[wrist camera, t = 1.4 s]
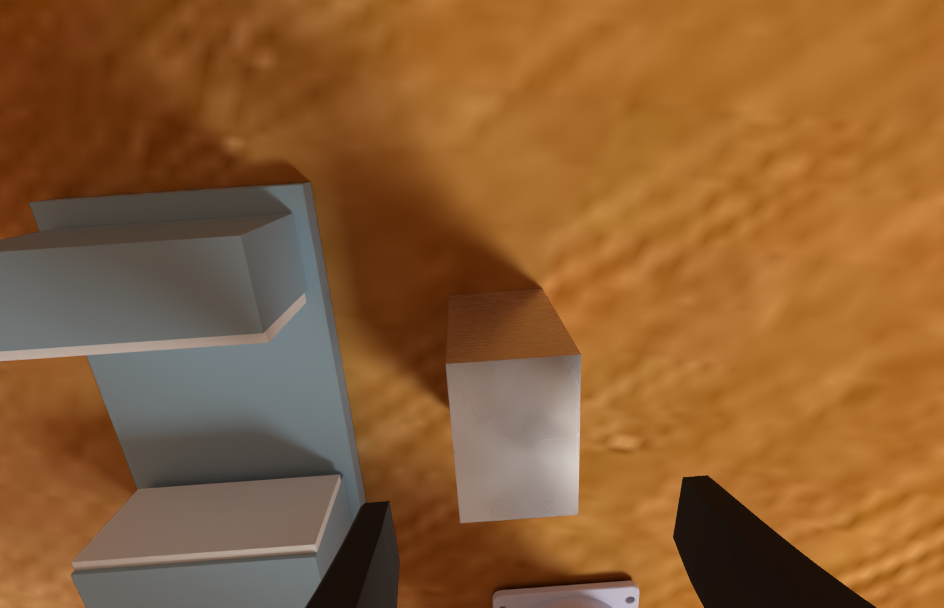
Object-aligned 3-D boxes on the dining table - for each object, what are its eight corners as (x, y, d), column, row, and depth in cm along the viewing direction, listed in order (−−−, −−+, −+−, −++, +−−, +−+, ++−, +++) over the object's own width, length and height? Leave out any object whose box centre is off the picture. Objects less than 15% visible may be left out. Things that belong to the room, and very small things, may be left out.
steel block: (543, 409, 22) (578, 514, 16) (459, 415, 22) (460, 523, 15) (542, 288, 20) (581, 354, 14) (449, 294, 20) (445, 363, 13)
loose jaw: (352, 526, 22) (328, 615, 18) (165, 540, 22) (97, 632, 18) (341, 468, 21) (313, 548, 17) (144, 482, 21) (66, 567, 17)
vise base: (377, 567, 24) (356, 682, 19) (189, 581, 24) (117, 700, 19) (310, 182, 18) (250, 198, 13) (51, 199, 18) (-117, 222, 13)
